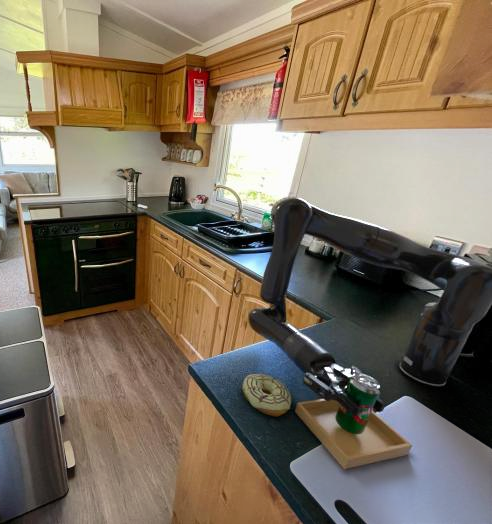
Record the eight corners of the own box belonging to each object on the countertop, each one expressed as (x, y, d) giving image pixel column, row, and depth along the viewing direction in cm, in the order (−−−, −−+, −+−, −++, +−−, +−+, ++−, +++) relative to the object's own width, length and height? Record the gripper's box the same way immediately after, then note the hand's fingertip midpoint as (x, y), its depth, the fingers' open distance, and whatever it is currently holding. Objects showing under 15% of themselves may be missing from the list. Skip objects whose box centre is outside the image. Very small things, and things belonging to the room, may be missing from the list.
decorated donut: (250, 418, 63) (253, 405, 62) (235, 382, 74) (237, 370, 72) (297, 419, 64) (301, 406, 62) (276, 383, 74) (279, 371, 72)
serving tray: (349, 402, 69) (352, 393, 68) (408, 454, 57) (412, 445, 56) (294, 411, 66) (297, 402, 65) (344, 469, 54) (348, 459, 53)
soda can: (336, 411, 64) (352, 367, 60) (363, 424, 61) (382, 379, 57) (332, 426, 60) (349, 381, 56) (362, 441, 57) (382, 394, 53)
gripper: (284, 344, 69) (346, 401, 53) (335, 339, 72) (406, 391, 56) (278, 370, 71) (334, 430, 56) (327, 363, 74) (393, 419, 59)
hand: (370, 410), depth 56 cm, fingers closed on soda can, 5 cm apart
